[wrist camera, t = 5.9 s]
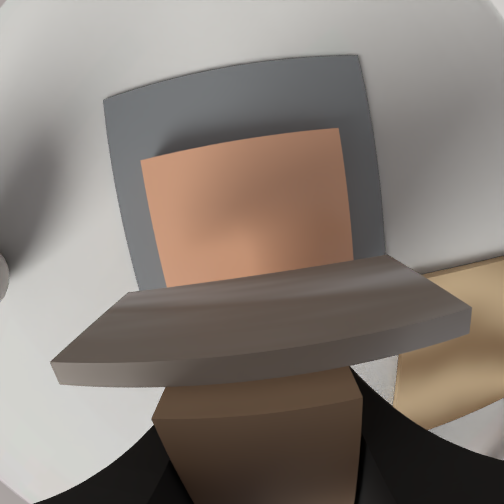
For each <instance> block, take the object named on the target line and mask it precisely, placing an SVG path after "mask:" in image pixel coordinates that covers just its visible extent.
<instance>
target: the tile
mask: <svg viewBox="0 0 504 504" xmlns="http://www.w3.org/2000/svg"><path fill="white" fill-rule="evenodd" d="M140 161H141V167H142V173H143V178H144V184H145V189H146V195H147V200H148V205H149V210H150V215H151V220H152V225H153V230H154V234H155V239H156V244H157V248H158V253H159V257H160V261H161V265H162V270H163V274H164V278H165V282H166V286H167V287H175V286H183V285H190V284H198V283H205V282H212V281H219V280H227V279H234V278H241V277H248V276H255V275H261V274H268V273H275V272H282V271H288V270H295V269H301V268H308V267H314V266H321V265H327V264H333V263H339V262H346V261H352V260H354V259H353V245H352V232H351V221H350V211H349V201H348V192H347V184H346V176H345V168H344V161H343V154H342V147H341V140H340V134H339V128H330V129H319V130H309V131H300V132H292V133H284V134H276V135H269V136H262V137H255V138H248V139H242V140H236V141H230V142H225V143H219V144H213V145H208V146H203V147H198V148H193V149H188V150H183V151H179V152H174V153H170V154H165V155H161V156H157V157H152V158H148V159H144V160H140Z"/></svg>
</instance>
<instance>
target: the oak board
mask: <svg viewBox="0 0 504 504" xmlns="http://www.w3.org/2000/svg"><path fill="white" fill-rule="evenodd" d="M421 275H422V276H424V277H425V278H427V279H429V280H430V281H432V282H433V283H435V284H437V285H438V286H440V287H441V288H443V289H444V290H446V291H448V292H449V293H451V294H452V295H454V296H455V297H457V298H458V299H460V300H462V301H463V302H465V303H466V304H468V305H469V306H471V307H472V315H471V324H470V332H469V334H467V335H464V336H461V337H458V338H455V339H451V340H448V341H445V342H442V343H438V344H435V345H432V346H428V347H425V348H421V349H417V350H414V351H410V352H406V353H402V354H399V356H398V367H397V377H396V385H395V393H394V401H393V407H394V408H395V409H397V410H398V411H399V412H401V413H402V414H404V415H405V416H406V417H408V418H409V419H411V420H412V421H413V422H415V423H416V424H418V425H420V426H421V427H423V428H425V429H426V430H429V429H432V428H434V427H437V426H440V425H443V424H445V423H448V422H450V421H453V420H455V419H458V418H460V417H463V416H465V415H467V414H470V413H472V412H474V411H477V410H479V409H481V408H483V407H485V406H487V405H490V404H492V403H494V402H496V401H498V400H500V399H502V398H504V256H501V257H497V258H493V259H489V260H484V261H480V262H476V263H472V264H467V265H463V266H459V267H454V268H450V269H445V270H440V271H436V272H431V273H426V274H421Z"/></svg>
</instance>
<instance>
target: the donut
mask: <svg viewBox="0 0 504 504" xmlns="http://www.w3.org/2000/svg"><path fill="white" fill-rule="evenodd" d="M8 285H9V269H8V265H7V263H6V261H5V258H4V257H3V256H2V255H1V254H0V302H1V300H2V299H3V298H4V296H5V294H6V291H7V289H8Z"/></svg>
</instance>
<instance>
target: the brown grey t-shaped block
mask: <svg viewBox="0 0 504 504" xmlns="http://www.w3.org/2000/svg"><path fill="white" fill-rule="evenodd" d="M471 315H472V307H471V306H469V305H468V304H466V303H465V302H463V301H462V300H460V299H458V298H457V297H455V296H454V295H452V294H451V293H449V292H448V291H446V290H444V289H443V288H441V287H440V286H438V285H437V284H435V283H433V282H432V281H430V280H429V279H427V278H425V277H424V276H422V275H420V274H419V273H417V272H416V271H414V270H412V269H411V268H409V267H407V266H406V265H404V264H402V263H401V262H399V261H397V260H396V259H394V258H392V257H390V256H389V255H382V256H376V257H370V258H364V259H358V260H352V261H346V262H339V263H333V264H327V265H321V266H314V267H308V268H301V269H295V270H288V271H282V272H275V273H268V274H261V275H255V276H248V277H241V278H234V279H227V280H219V281H212V282H205V283H198V284H190V285H183V286H175V287H167V288H160V289H152V290H144V291H136V292H128V293H127V294H126V295H125V296H123V297H122V298H121V299H120V300H119V301H118V302H116V303H115V304H114V305H113V306H112V307H111V308H110V309H108V310H107V311H106V312H105V313H104V314H103V315H102V316H100V317H99V318H98V319H97V320H96V321H95V322H94V323H92V324H91V325H90V326H89V327H88V328H87V329H86V330H85V331H83V332H82V333H81V334H80V335H79V336H78V337H77V338H76V339H75V340H73V341H72V342H71V343H70V344H69V345H68V346H67V347H66V348H65V349H64V350H62V351H61V352H60V353H59V354H58V355H57V356H56V357H55V358H54V359H53V360H52V361H51V362H50V363H51V366H52V368H53V370H54V373H55V375H56V377H57V379H58V382H59V384H61V385H75V386H93V387H165V389H164V392H163V394H162V396H161V398H160V401H159V403H158V405H157V407H156V410H155V412H154V414H153V416H152V421H153V424H154V426H155V428H156V430H157V433H158V435H159V437H160V439H161V441H162V443H163V445H164V447H165V450H166V452H167V454H168V456H169V458H170V460H171V462H172V464H173V466H174V468H175V469H176V471H177V473H178V475H179V477H180V479H181V481H182V483H183V484H184V486H185V488H186V490H187V492H188V493H189V495H190V497H191V499H192V500H193V502H194V504H354V500H355V492H356V484H357V475H358V465H359V454H360V441H361V426H362V406H363V397H362V394H361V392H360V390H359V388H358V385H357V383H356V381H355V379H354V376H353V374H352V372H351V370H350V368H349V366H350V365H355V364H360V363H365V362H369V361H374V360H378V359H382V358H386V357H391V356H395V355H399V354H402V353H406V352H410V351H414V350H417V349H421V348H425V347H428V346H432V345H435V344H438V343H442V342H445V341H448V340H451V339H455V338H458V337H461V336H464V335H467V334H469V332H470V324H471Z"/></svg>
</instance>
